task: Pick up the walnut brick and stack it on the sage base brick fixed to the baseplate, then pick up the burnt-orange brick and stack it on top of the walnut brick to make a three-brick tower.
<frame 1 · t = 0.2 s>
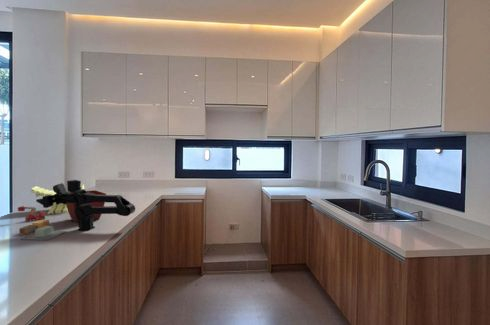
hand: (42, 198, 168), 17 cm above the worktop, tool horizontal, fingers open, 9 cm apart
walnut brick: (28, 233, 160), on the worktop
toy fire truck: (32, 221, 185), on the worktop
plant pot: (85, 219, 188), on the worktop
baseplate: (44, 235, 155), on the worktop
slatted curved stool: (60, 210, 213), on the worktop
orange brick: (40, 227, 171), on the worktop
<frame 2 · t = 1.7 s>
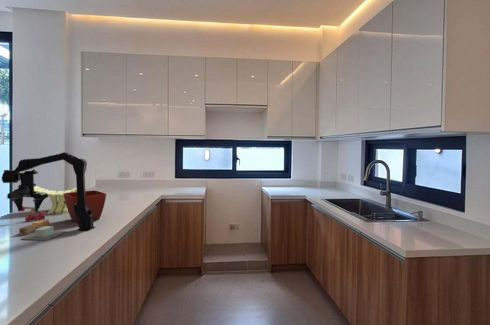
hand: (28, 211, 159), 12 cm above the worktop, tool pointing down, fingers open, 9 cm apart
nothing on the worktop moved.
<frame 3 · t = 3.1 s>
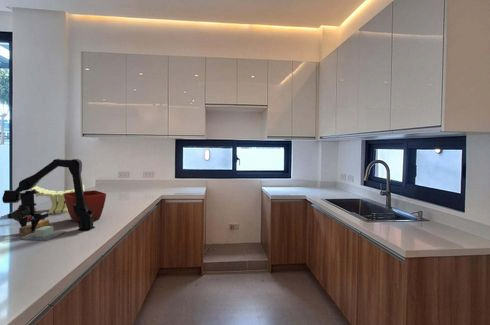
hand: (28, 231, 159), 1 cm above the worktop, tool pointing down, fingers closed on walnut brick, 4 cm apart
walnut brick: (28, 232, 159), on the worktop, touching gripper
everything else where it was.
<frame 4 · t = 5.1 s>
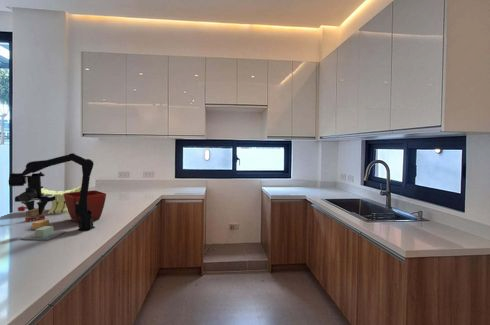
hand: (36, 214, 157), 11 cm above the worktop, tool pointing down, fingers closed on walnut brick, 4 cm apart
walnut brick: (36, 216, 157), point 10 cm above the worktop, touching gripper
everything else where it was.
when the fingers open (6 cm above the worktop, at t = 7.0 s): walnut brick stays where it is, resting on baseplate.
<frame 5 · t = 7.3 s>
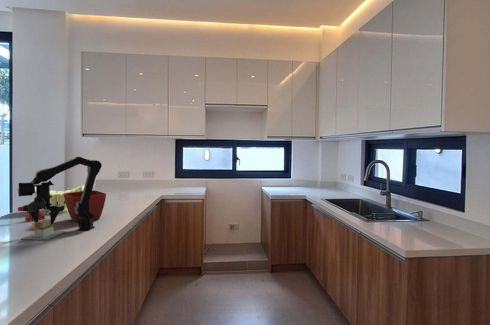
hand: (44, 224, 154), 6 cm above the worktop, tool pointing down, fingers open, 8 cm apart
walnut brick: (44, 227, 154), point 4 cm above the worktop, touching baseplate
everything else where it was.
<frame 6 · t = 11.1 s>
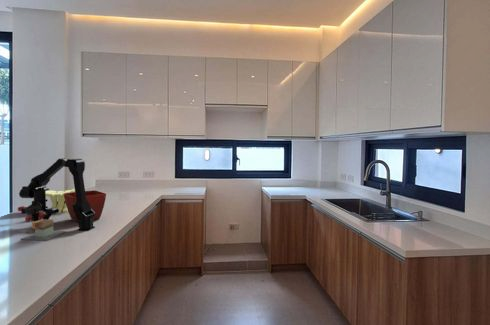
hand: (40, 225, 171), 1 cm above the worktop, tool pointing down, fingers closed on orange brick, 5 cm apart
orange brick: (40, 227, 171), on the worktop, touching gripper
everything else where it was.
when the fingers open (10 cm above the worktop, at t = 14.7 s): orange brick stays where it is, resting on walnut brick.
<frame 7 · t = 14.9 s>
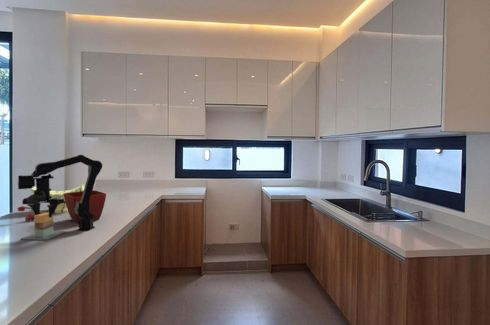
hand: (44, 217, 154), 10 cm above the worktop, tool pointing down, fingers open, 7 cm apart
walnut brick: (44, 227, 154), point 4 cm above the worktop, touching baseplate, orange brick
orange brick: (44, 221, 154), point 8 cm above the worktop, touching walnut brick
everything else where it was.
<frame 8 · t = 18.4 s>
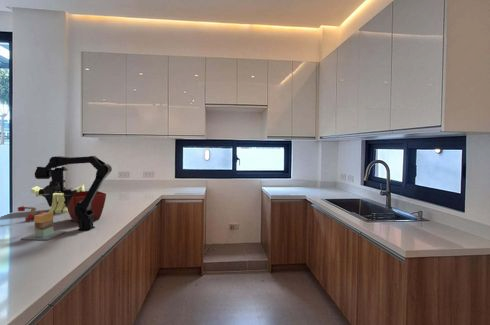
hand: (58, 206, 165), 13 cm above the worktop, tool pointing down, fingers open, 9 cm apart
nothing on the worktop moved.
at the end: walnut brick 0.0 cm off-centre on the baseplate, point 4.2 cm above the baseplate's base; orange brick 0.0 cm off-centre on the baseplate, point 7.8 cm above the baseplate's base; orange brick tilted 0° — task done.
